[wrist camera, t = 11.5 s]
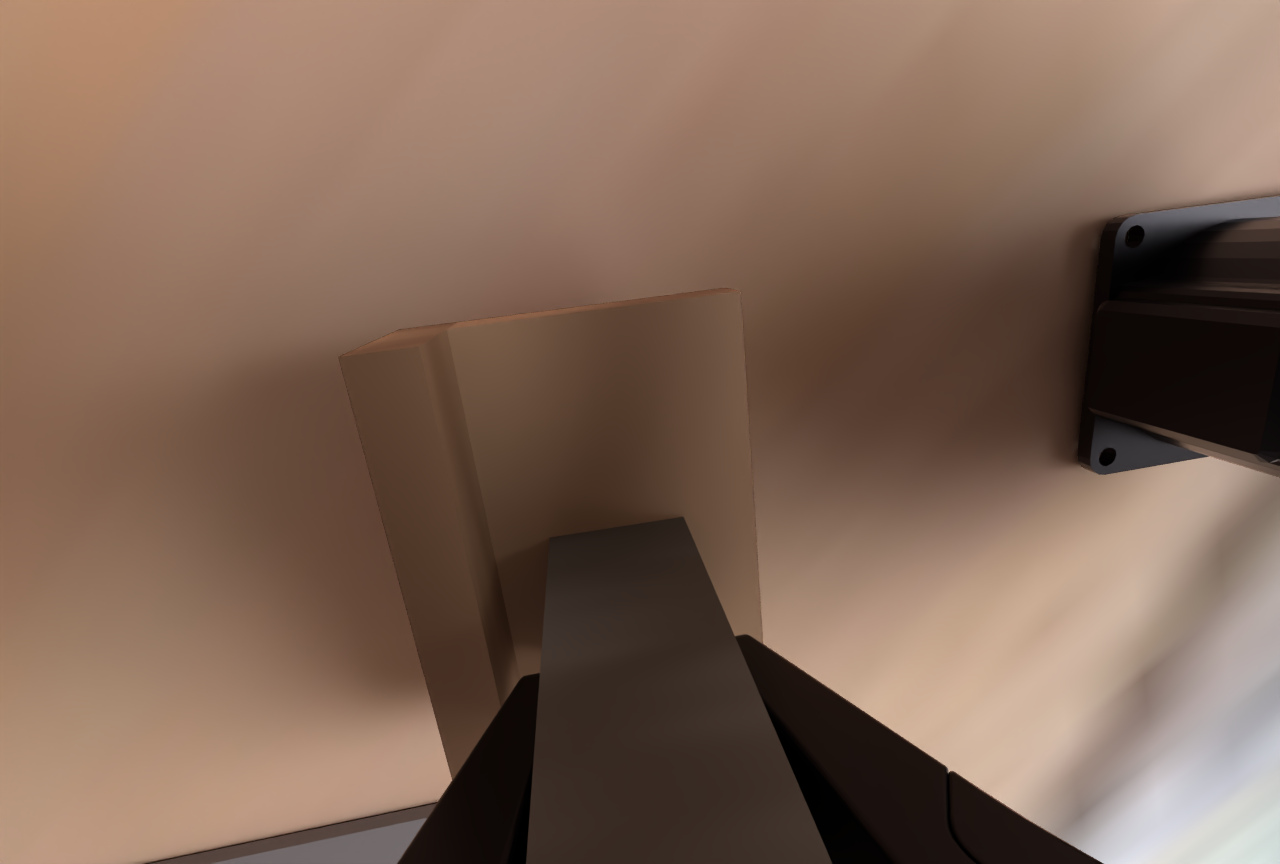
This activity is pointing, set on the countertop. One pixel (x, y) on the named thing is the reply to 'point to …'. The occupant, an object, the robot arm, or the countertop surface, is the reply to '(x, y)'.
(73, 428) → the countertop surface
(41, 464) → the countertop surface
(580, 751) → the beige ledged slab
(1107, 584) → the countertop surface
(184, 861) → the gray ledged slab
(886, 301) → the countertop surface
